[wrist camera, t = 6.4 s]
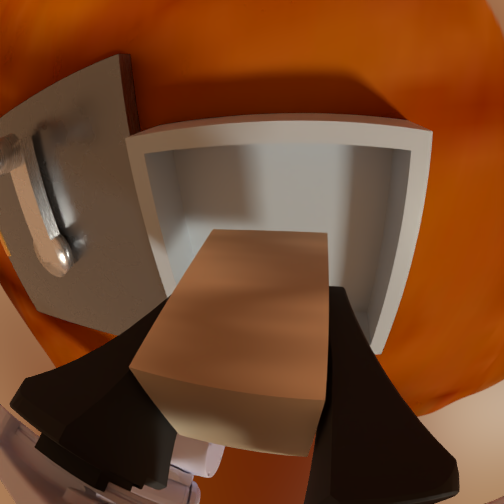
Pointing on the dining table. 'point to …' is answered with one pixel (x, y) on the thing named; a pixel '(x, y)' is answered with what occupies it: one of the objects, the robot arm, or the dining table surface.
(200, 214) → the tray
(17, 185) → the crank
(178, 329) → the block
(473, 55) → the dining table surface
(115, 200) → the base plate
